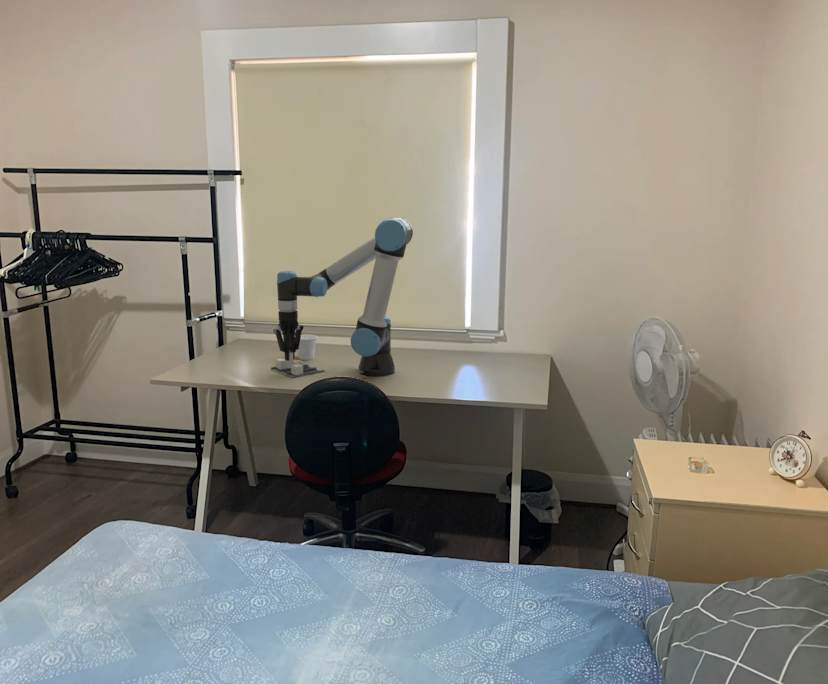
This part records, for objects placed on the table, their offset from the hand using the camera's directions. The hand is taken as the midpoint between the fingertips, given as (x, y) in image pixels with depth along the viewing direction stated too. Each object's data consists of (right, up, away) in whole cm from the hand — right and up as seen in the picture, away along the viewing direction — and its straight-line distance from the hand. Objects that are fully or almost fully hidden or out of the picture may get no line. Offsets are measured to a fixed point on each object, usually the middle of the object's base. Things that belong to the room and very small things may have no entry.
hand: (290, 367), depth 280 cm
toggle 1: (-4, -1, +5) cm, 7 cm away
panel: (+3, -3, +3) cm, 5 cm away
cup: (+3, +2, +23) cm, 24 cm away
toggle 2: (+3, -1, +3) cm, 4 cm away
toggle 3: (+4, -3, -4) cm, 6 cm away
